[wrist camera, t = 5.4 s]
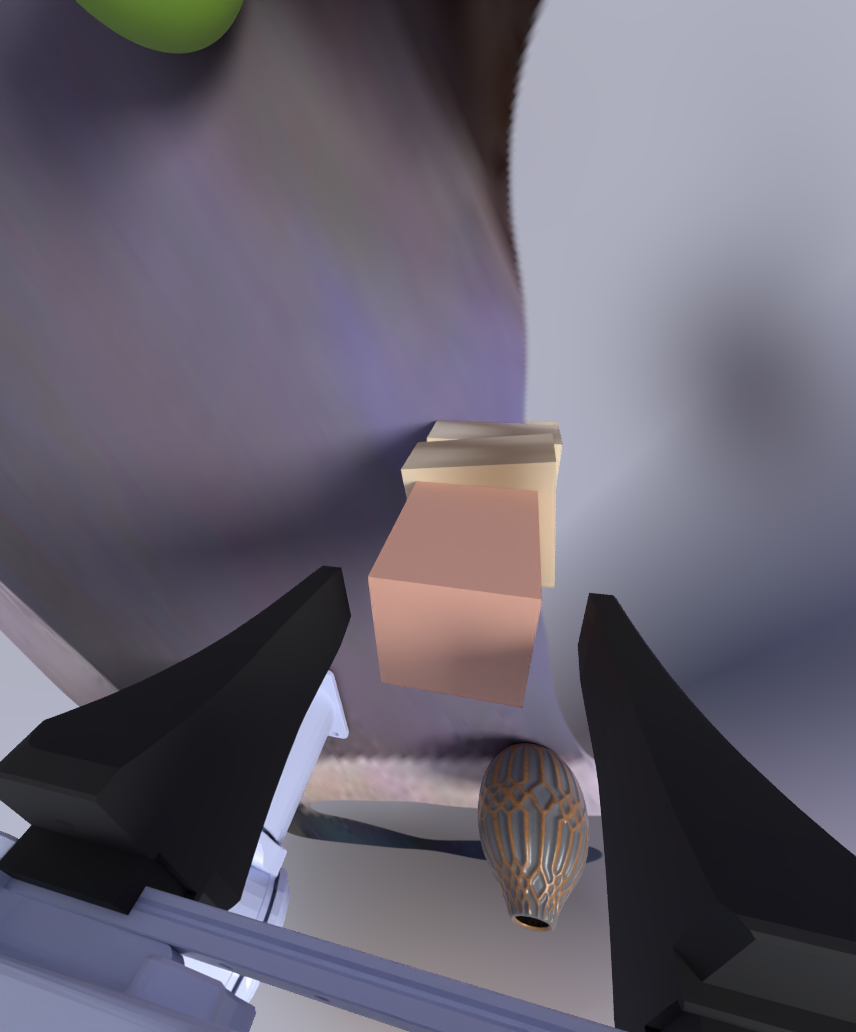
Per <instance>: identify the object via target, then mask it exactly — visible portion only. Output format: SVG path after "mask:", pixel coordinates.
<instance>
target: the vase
mask: <svg viewBox="0 0 856 1032" xmlns="http://www.w3.org/2000/svg"><path fill="white" fill-rule="evenodd" d="M478 827H479V834H480V840H481V845H482V848H483V852H484V854H485V857H486V860H487V862H488V864H489V866H490V868H491V870H492V873H493V875H494V877H495V879H496V881H497V883H498V885H499V887H500V889H501V891H502V893H503V896H504V899H505V902H506V906H507V909H508V913H509V917H510V919H511V920H512V922H513V923H515V924H516V925H518V926H520V927H522V928H525V929H528V930H531V931H536V932H551V931H553V930H554V929H555V926H556V923H557V920H558V916H559V913H560V911H561V908H562V906H563V904H564V903H565V901H566V900H567V898H568V897H569V895H570V894H571V892H572V890H573V889H574V887H575V886H576V884H577V882H578V881H579V879H580V877H581V875H582V873H583V870H584V867H585V863H586V859H587V853H588V846H589V823H588V815H587V809H586V804H585V800H584V797H583V794H582V791H581V788H580V786H579V783H578V781H577V779H576V777H575V776H574V774H573V772H572V771H571V770H570V768H569V767H568V766H567V764H566V763H565V762H564V761H563V760H562V759H561V758H560V757H559V756H558V755H556V754H555V753H554V752H553V751H551V750H549V749H547V748H545V747H543V746H540V745H536V744H529V743H520V744H514V745H511V746H509V747H507V748H506V749H504V750H503V751H502V752H500V753H499V754H498V755H497V756H496V757H495V758H494V759H493V760H492V761H491V763H490V765H489V766H488V768H487V770H486V772H485V775H484V777H483V781H482V784H481V788H480V793H479V801H478Z"/></svg>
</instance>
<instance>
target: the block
mask: <svg viewBox="0 0 856 1032" xmlns="http://www.w3.org/2000/svg"><path fill="white" fill-rule="evenodd" d="M368 581H369V589H370V597H371V605H372V613H373V621H374V629H375V637H376V644H377V652H378V660H379V668H380V676H381V682H382V683H387V684H393V685H398V686H404V687H410V688H415V689H421V690H426V691H432V692H437V693H443V694H448V695H454V696H459V697H465V698H470V699H476V700H481V701H487V702H493V703H498V704H504V705H509V706H515V707H520V708H522V707H523V701H524V696H525V690H526V685H527V679H528V674H529V668H530V663H531V657H532V652H533V646H534V641H535V635H536V630H537V624H538V619H539V613H540V608H541V603H542V585H541V559H540V533H539V507H538V491H530V490H518V489H506V488H494V487H482V486H470V485H458V484H446V483H433V482H421V481H416V483H415V485H414V487H413V489H412V491H411V493H410V495H409V497H408V499H407V501H406V503H405V505H404V507H403V509H402V511H401V513H400V515H399V517H398V519H397V521H396V523H395V525H394V527H393V529H392V531H391V532H390V534H389V536H388V538H387V540H386V542H385V544H384V546H383V548H382V550H381V552H380V554H379V556H378V558H377V560H376V562H375V564H374V566H373V568H372V570H371V572H370V574H369V576H368Z"/></svg>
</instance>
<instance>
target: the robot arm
mask: <svg viewBox="0 0 856 1032" xmlns="http://www.w3.org/2000/svg"><path fill="white" fill-rule="evenodd" d="M350 617H351V614H350V609H349V604H348V599H347V594H346V589H345V584H344V579H343V574H342V569H341V568H340V567H330V566H322V567H321V568H319V569H318V570H316V571H315V572H314V573H312V574H311V575H310V576H308V577H307V578H306V579H304V580H303V581H302V582H301V583H299V584H298V585H297V586H295V587H294V588H293V589H291V590H290V591H289V592H288V593H286V594H285V595H284V596H282V597H281V598H280V599H278V600H277V601H276V602H274V603H273V604H272V605H270V606H269V607H268V608H266V609H265V610H263V611H262V612H260V613H259V614H258V615H256V616H255V617H253V618H252V619H250V620H249V621H247V622H246V623H245V624H243V625H242V626H240V627H239V628H237V629H236V630H234V631H233V632H231V633H230V634H228V635H226V636H225V637H223V638H222V639H220V640H218V641H217V642H215V643H213V644H212V645H210V646H208V647H207V648H205V649H203V650H201V651H200V652H198V653H196V654H194V655H193V656H191V657H189V658H187V659H185V660H183V661H181V662H179V663H177V664H175V665H173V666H171V667H169V668H167V669H165V670H163V671H162V672H160V673H158V674H156V675H154V676H151V677H149V678H147V679H145V680H143V681H141V682H139V683H136V684H134V685H132V686H130V687H127V688H125V689H123V690H120V691H118V692H116V693H114V694H111V695H109V696H106V697H104V698H102V699H99V700H97V701H94V702H91V703H89V704H86V705H84V706H81V707H78V708H76V709H73V710H70V711H68V712H65V713H63V714H60V715H57V716H55V717H52V718H49V719H46V720H44V721H43V722H42V723H41V724H39V725H38V726H37V727H36V728H35V729H34V730H33V731H32V732H31V733H30V734H29V735H28V736H27V737H26V738H25V739H24V740H23V741H22V742H21V743H20V744H18V745H17V746H16V747H15V748H14V749H13V750H12V751H11V752H10V753H9V754H8V755H7V756H6V757H5V758H4V759H3V760H2V761H1V762H0V800H1V801H2V802H4V803H5V804H6V805H7V806H9V807H10V808H11V809H12V810H14V811H15V812H16V813H17V814H19V815H20V816H21V817H22V818H24V819H25V820H26V821H27V822H29V823H30V824H31V826H30V828H29V829H28V830H27V831H26V832H25V833H24V834H23V836H22V837H21V838H20V839H18V838H16V837H14V836H12V835H10V834H7V833H4V832H2V831H0V1032H249V1031H250V1028H251V1025H252V1023H253V1020H254V1017H255V1014H256V1011H255V1007H254V1006H253V1005H251V1004H249V1002H250V1000H251V998H252V997H253V995H254V993H255V991H256V989H257V987H258V985H259V983H260V982H263V983H266V984H269V985H272V986H275V987H278V988H281V989H284V990H287V991H290V992H293V993H296V994H299V995H302V996H305V997H308V998H311V999H314V1000H317V1001H320V1002H323V1003H326V1004H329V1005H332V1006H335V1007H338V1008H341V1009H344V1010H347V1011H350V1012H353V1013H356V1014H359V1015H362V1016H365V1017H368V1018H371V1019H374V1020H377V1021H379V1022H382V1023H385V1024H388V1025H391V1026H394V1027H397V1028H401V1029H403V1030H406V1031H409V1032H856V856H855V855H853V854H852V853H851V852H850V851H848V850H847V849H846V848H845V847H844V846H842V845H841V844H840V843H839V842H838V841H836V840H835V839H834V838H833V837H832V836H830V835H829V834H828V833H827V832H826V831H825V830H824V829H822V828H821V827H820V826H819V825H818V824H817V823H815V822H814V821H813V820H812V819H811V818H810V817H808V816H807V815H806V814H805V813H804V812H803V811H801V810H800V809H799V808H798V807H797V806H796V805H795V804H793V803H792V802H791V801H790V800H789V799H788V798H787V797H786V796H785V795H784V794H783V793H781V792H780V791H779V790H778V789H777V788H776V787H775V786H774V785H773V784H772V783H771V782H770V781H769V780H768V779H767V778H766V777H764V776H763V775H762V774H761V773H760V772H759V771H758V770H757V769H756V768H755V767H754V766H753V765H752V764H751V763H750V762H748V761H747V760H746V759H745V758H744V757H743V756H742V755H741V754H740V753H739V752H738V751H737V750H736V749H735V748H734V747H733V746H732V745H731V744H730V743H729V742H728V741H727V740H726V739H725V738H724V736H723V735H722V734H721V733H720V732H719V731H718V730H717V729H716V728H715V727H714V726H713V725H712V724H711V723H710V722H709V720H708V719H707V718H706V717H705V716H704V715H703V714H702V713H701V712H700V710H699V709H698V708H697V707H696V706H695V705H694V703H693V702H692V701H691V700H690V699H689V698H688V696H687V695H686V694H685V693H684V692H683V690H682V689H681V688H680V687H679V686H678V684H677V683H676V682H675V681H674V679H672V677H671V676H670V675H669V673H668V672H667V671H666V669H665V668H664V667H663V666H662V664H661V663H660V661H659V660H658V659H657V657H656V656H655V655H654V653H653V652H652V651H651V649H650V648H649V647H648V645H647V644H646V643H645V641H644V640H643V638H642V637H641V635H640V634H639V632H638V631H637V630H636V628H635V627H634V625H633V624H632V622H631V621H630V619H629V618H628V616H627V615H626V613H625V611H624V610H623V608H622V607H621V605H620V604H619V602H618V600H617V599H616V598H615V597H614V596H613V595H604V594H594V593H589V596H588V601H587V605H586V610H585V614H584V619H583V624H582V628H581V633H580V637H579V643H578V655H579V670H580V682H581V688H582V693H583V699H584V705H585V710H586V715H587V721H588V726H589V732H590V737H591V742H592V748H593V753H594V759H595V764H596V771H597V778H598V785H599V795H600V806H601V817H602V828H603V840H604V853H605V866H606V878H607V879H606V880H607V895H608V910H609V925H610V942H611V961H612V981H613V1003H614V1022H615V1028H613V1027H610V1026H607V1025H603V1024H600V1023H597V1022H594V1021H590V1020H587V1019H583V1018H580V1017H577V1016H574V1015H570V1014H567V1013H563V1012H560V1011H557V1010H554V1009H551V1008H547V1007H544V1006H541V1005H537V1004H534V1003H531V1002H527V1001H524V1000H521V999H517V998H514V997H511V996H507V995H504V994H501V993H498V992H494V991H490V990H488V989H484V988H481V987H478V986H474V985H471V984H468V983H464V982H461V981H458V980H454V979H451V978H448V977H444V976H441V975H438V974H434V973H431V972H428V971H425V970H421V969H418V968H415V967H412V966H408V965H405V964H401V963H398V962H394V961H392V960H388V959H385V958H382V957H378V956H375V955H372V954H368V953H365V952H362V951H359V950H355V949H352V948H349V947H345V946H342V945H339V944H335V943H332V942H329V941H325V940H322V939H319V938H315V937H312V936H309V935H306V934H302V933H299V932H296V931H292V930H289V929H286V928H282V926H283V923H284V919H285V916H286V912H287V907H288V902H289V885H288V874H287V871H286V870H285V869H284V868H281V865H282V863H283V861H284V858H285V856H286V853H287V850H286V849H285V848H283V847H281V844H282V842H283V839H284V837H285V835H286V832H287V830H288V828H289V825H290V823H291V821H292V818H293V816H294V814H295V811H296V809H297V807H298V804H299V802H300V799H301V797H302V795H303V792H304V790H305V788H306V785H307V783H308V781H309V778H310V776H311V774H312V771H313V769H314V767H315V764H316V762H317V759H318V757H319V755H320V752H321V750H322V748H323V745H324V743H325V741H326V738H327V736H333V737H338V738H347V737H348V734H349V730H348V727H347V723H346V719H345V715H344V712H343V708H342V704H341V700H340V696H339V693H338V689H337V685H336V681H335V677H334V674H333V673H332V672H331V671H330V670H329V668H330V666H331V664H332V662H333V660H334V658H335V656H336V654H337V652H338V650H339V648H340V646H341V643H342V640H343V638H344V635H345V632H346V629H347V626H348V623H349V620H350Z"/></svg>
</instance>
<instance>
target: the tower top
mask: <svg viewBox="0 0 856 1032" xmlns="http://www.w3.org/2000/svg"><path fill="white" fill-rule="evenodd" d="M401 472H402V477H403V482H404V488H405V493H406V498H407V499H408V497H409V495H410V493H411V491H412V489H413V487H414V485H415V483H416V481H421V482H433V483H446V484H458V485H470V486H482V487H494V488H506V489H518V490H530V491H538V507H539V533H540V559H541V585H542V587H554V579H555V577H554V576H555V519H556V518H555V517H556V515H555V514H556V456H555V448H554V441H553V434H552V433H549V434H534V435H519V436H504V437H488V438H473V439H459V440H444V441H429V442H418V443H417V444H416V446H415V448H414V449H413V451H412V452H411V454H410V456H409V457H408V459H407V460H406V462H405V464H404V465H403V467H402V469H401Z"/></svg>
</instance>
